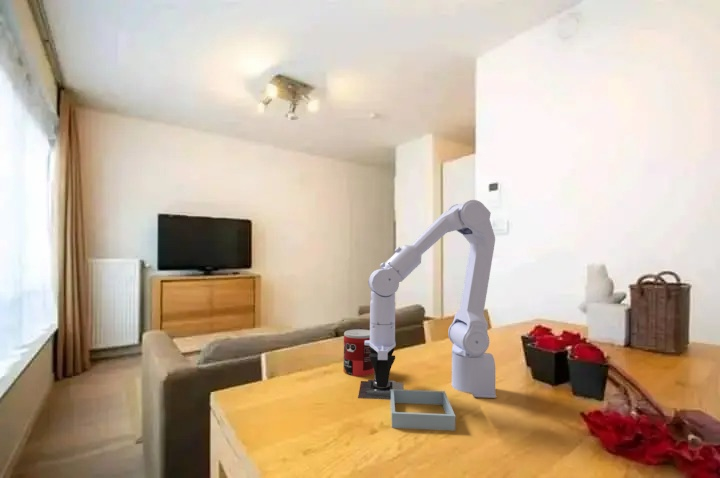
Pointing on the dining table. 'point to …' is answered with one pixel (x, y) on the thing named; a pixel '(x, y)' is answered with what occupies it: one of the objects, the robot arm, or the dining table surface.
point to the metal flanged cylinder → (381, 387)
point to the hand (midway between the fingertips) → (381, 382)
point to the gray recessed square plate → (377, 390)
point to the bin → (422, 419)
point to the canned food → (357, 353)
